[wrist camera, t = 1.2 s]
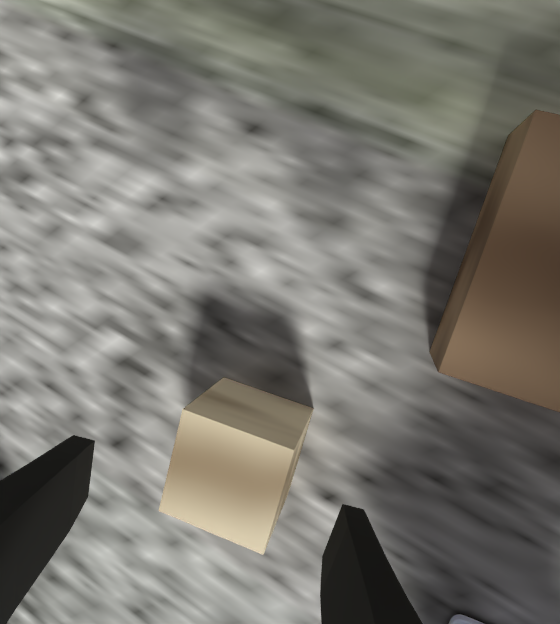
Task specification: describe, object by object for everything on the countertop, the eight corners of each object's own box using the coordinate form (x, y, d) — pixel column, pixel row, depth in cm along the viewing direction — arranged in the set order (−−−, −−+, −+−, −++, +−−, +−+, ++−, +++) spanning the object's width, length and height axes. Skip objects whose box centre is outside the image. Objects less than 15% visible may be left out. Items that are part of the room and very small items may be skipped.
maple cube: (288, 493, 24) (263, 554, 19) (203, 459, 25) (158, 510, 20) (313, 407, 23) (294, 450, 18) (224, 376, 24) (182, 409, 19)
